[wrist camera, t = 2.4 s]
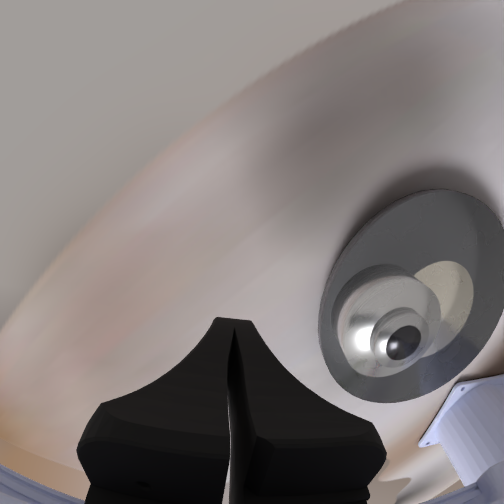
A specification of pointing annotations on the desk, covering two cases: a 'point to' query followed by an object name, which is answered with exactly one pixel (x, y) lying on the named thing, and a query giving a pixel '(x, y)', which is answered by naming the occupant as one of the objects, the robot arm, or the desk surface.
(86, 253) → the desk surface
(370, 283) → the cover
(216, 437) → the robot arm
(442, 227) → the turntable
